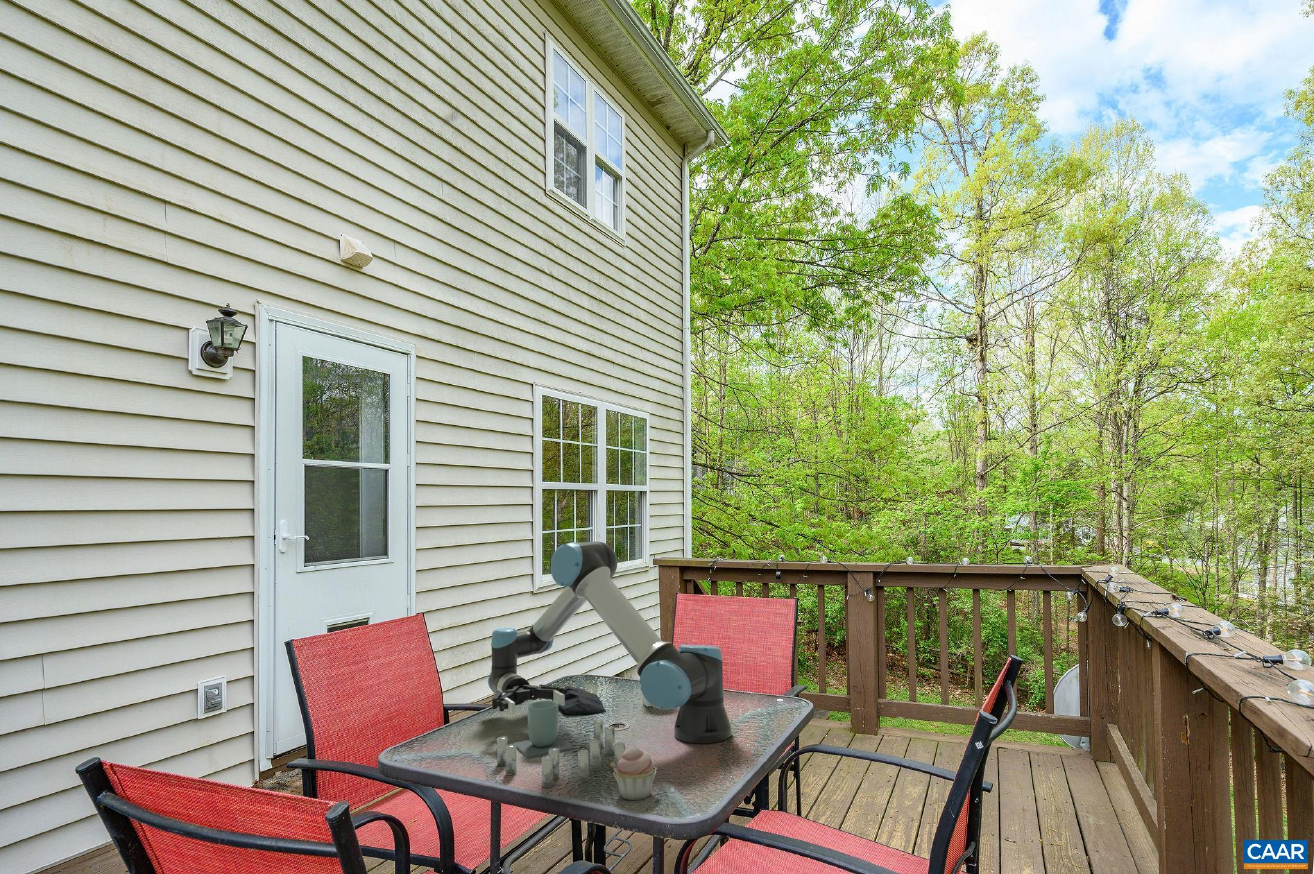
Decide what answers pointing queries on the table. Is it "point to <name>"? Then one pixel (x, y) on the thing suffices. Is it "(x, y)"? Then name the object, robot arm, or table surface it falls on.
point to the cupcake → (635, 774)
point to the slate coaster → (534, 751)
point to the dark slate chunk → (581, 701)
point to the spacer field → (552, 761)
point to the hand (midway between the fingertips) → (538, 704)
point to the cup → (543, 723)
